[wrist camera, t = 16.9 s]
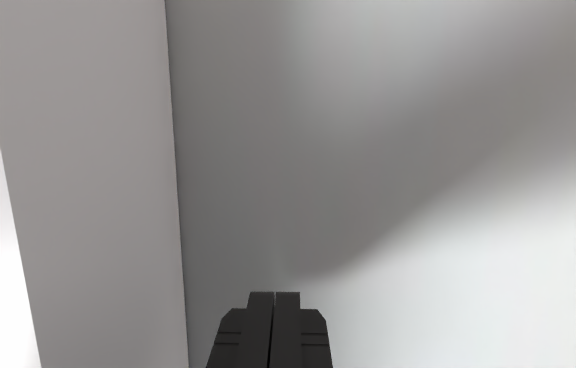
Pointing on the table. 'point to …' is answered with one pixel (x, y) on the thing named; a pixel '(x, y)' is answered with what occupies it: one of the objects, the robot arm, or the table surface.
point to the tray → (88, 188)
